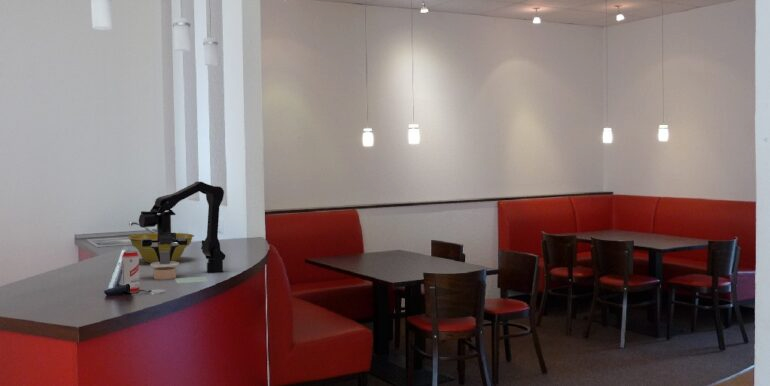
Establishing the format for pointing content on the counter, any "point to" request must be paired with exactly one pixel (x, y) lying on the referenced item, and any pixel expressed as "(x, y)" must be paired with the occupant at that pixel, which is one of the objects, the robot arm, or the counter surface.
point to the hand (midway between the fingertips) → (164, 261)
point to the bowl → (164, 273)
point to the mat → (191, 280)
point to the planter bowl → (150, 253)
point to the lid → (164, 260)
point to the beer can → (130, 270)
